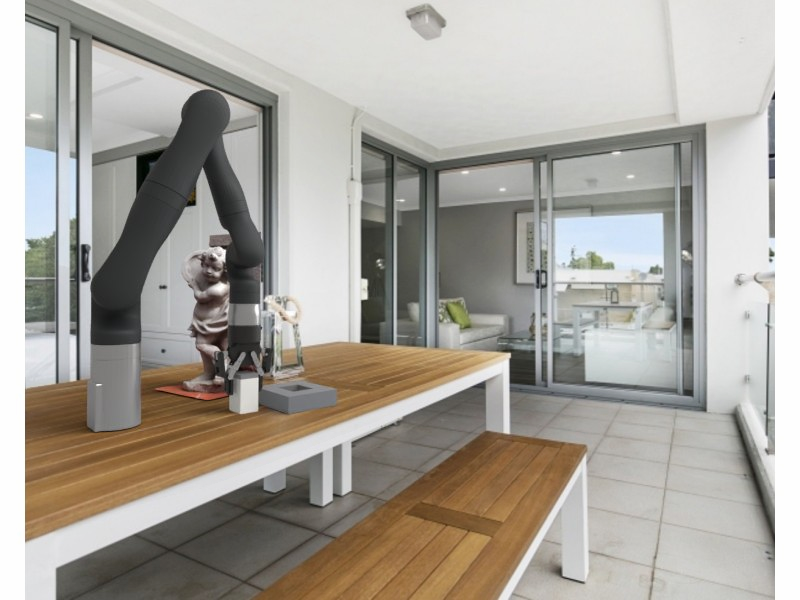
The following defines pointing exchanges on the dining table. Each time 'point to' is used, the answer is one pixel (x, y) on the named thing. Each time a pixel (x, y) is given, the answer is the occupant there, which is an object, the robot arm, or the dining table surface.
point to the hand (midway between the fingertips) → (243, 392)
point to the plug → (244, 392)
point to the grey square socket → (297, 396)
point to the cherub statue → (209, 316)
